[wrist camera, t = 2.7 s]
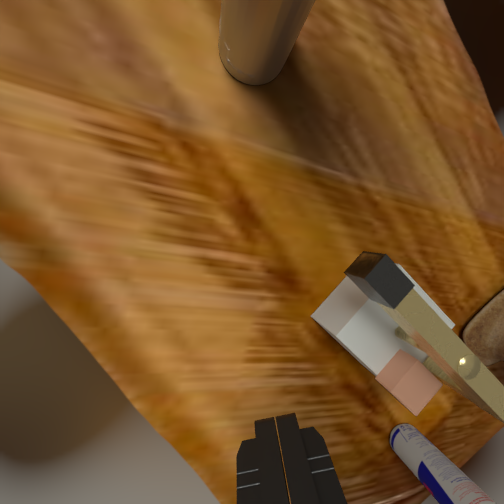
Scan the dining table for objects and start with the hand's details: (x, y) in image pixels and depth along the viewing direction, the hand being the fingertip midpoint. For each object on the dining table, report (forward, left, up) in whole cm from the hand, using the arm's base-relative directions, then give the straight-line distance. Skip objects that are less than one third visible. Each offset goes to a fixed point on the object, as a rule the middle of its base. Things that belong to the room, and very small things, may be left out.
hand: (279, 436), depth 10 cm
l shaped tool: (-7, +18, -21) cm, 29 cm away
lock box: (-6, +21, -29) cm, 37 cm away
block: (-1, +25, -21) cm, 33 cm away
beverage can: (+9, +38, -29) cm, 49 cm away
